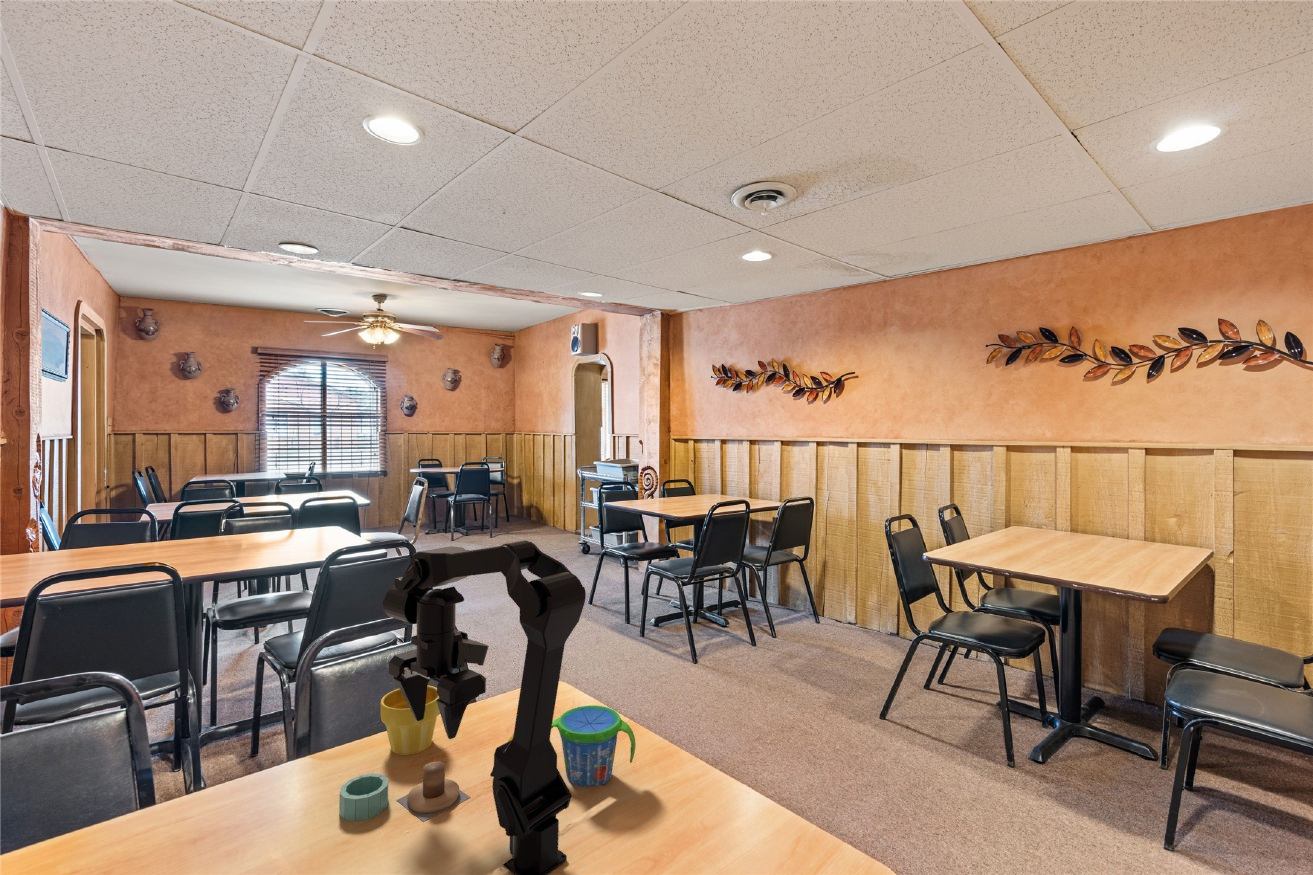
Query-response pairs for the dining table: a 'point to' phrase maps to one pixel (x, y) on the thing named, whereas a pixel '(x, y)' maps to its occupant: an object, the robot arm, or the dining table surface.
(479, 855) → the dining table surface
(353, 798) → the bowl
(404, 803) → the mat
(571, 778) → the snack cup
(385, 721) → the plant pot
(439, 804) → the lid
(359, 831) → the dining table surface
